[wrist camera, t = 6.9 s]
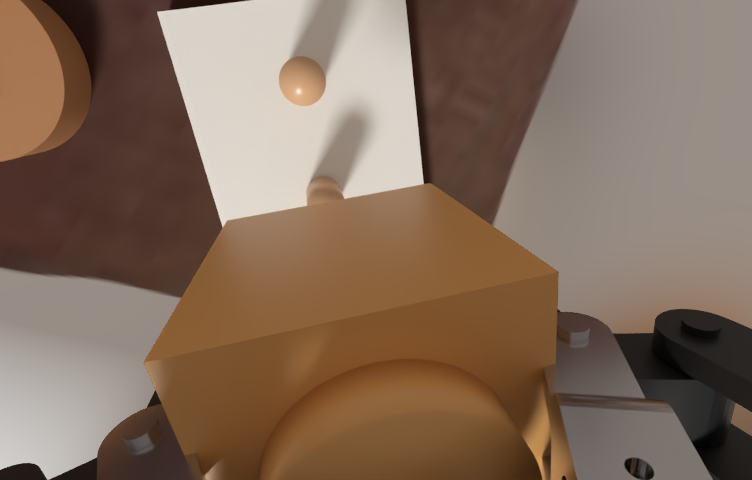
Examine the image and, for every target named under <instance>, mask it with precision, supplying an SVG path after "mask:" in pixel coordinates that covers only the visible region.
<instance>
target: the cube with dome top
mask: <svg viewBox="0 0 752 480" xmlns="http://www.w3.org/2000/svg"><path fill="white" fill-rule="evenodd" d="M558 273H559V272H558V271H557V270H555V269H554V268H552V267H551V266H549V265H548V264H546V263H545V262H544V261H542V260H541V259H539V258H538V257H536V256H535V255H533V254H532V253H531V252H529V251H528V250H526V249H525V248H523V247H522V246H521V245H519V244H518V243H516V242H515V241H513V240H512V239H510V238H509V237H507V236H506V235H505V234H503V233H502V232H500V231H499V230H497V229H496V228H494V227H493V226H492V225H490V224H489V223H487V222H486V221H484V220H483V219H482V218H480V217H479V216H477V215H476V214H474V213H473V212H472V211H470V210H469V209H467V208H466V207H464V206H463V205H461V204H460V203H459V202H457V201H456V200H454V199H453V198H451V197H450V196H448V195H447V194H446V193H444V192H443V191H441V190H440V189H438V188H437V187H435V186H434V185H433V184H431V183H427V184H422V185H417V186H411V187H406V188H400V189H395V190H389V191H384V192H379V193H373V194H368V195H362V196H357V197H352V198H346V199H341V200H335V201H330V202H324V203H319V204H314V205H308V206H303V207H297V208H292V209H287V210H281V211H276V212H270V213H265V214H259V215H254V216H249V217H243V218H238V219H232V220H227V222H226V223H225V225H224V227H223V228H222V230H221V232H220V233H219V235H218V237H217V239H216V240H215V242H214V244H213V245H212V247H211V249H210V250H209V252H208V254H207V256H206V257H205V259H204V261H203V262H202V264H201V266H200V268H199V269H198V271H197V273H196V274H195V276H194V278H193V279H192V281H191V283H190V285H189V286H188V288H187V290H186V291H185V293H184V295H183V296H182V298H181V300H180V302H179V303H178V305H177V307H176V309H175V310H174V312H173V313H172V315H171V317H170V319H169V320H168V322H167V324H166V325H165V327H164V329H163V330H162V332H161V334H160V336H159V337H158V339H157V341H156V342H155V344H154V346H153V347H152V349H151V351H150V353H149V354H148V356H147V358H146V359H145V361H144V365H145V367H146V369H147V372H148V374H149V376H150V378H151V381H152V383H153V385H154V388H155V390H156V392H157V394H158V397H159V399H160V401H161V403H162V406H163V408H164V410H165V413H166V415H167V417H168V419H169V422H170V424H171V426H172V428H173V431H174V433H175V435H176V438H177V440H178V442H179V444H180V447H181V449H182V451H183V453H184V455H188V454H192V453H196V455H197V458H198V460H199V462H200V465H201V467H202V469H203V472H204V474H205V477H206V480H542V457H546V456H549V455H551V432H550V423H549V417H548V412H547V407H546V402H545V397H544V392H543V367H544V366H549V365H553V364H556V337H557V305H558V304H557V303H558Z"/></svg>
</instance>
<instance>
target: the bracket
mask: <svg viewBox="0 0 752 480" xmlns="http://www.w3.org/2000/svg"><path fill="white" fill-rule="evenodd" d="M91 92H92V88H91V77H90V71H89V67H88V64H87V61H86V58H85V55H84V53H83V51H82V49H81V47H80V45H79V43H78V41H77V39H76V38H75V36H74V34H73V33H72V31H71V30H70V29H69V27H68V26H67V25H66V23H65V22H64V21H63V20H62V19H61V18H60V16H59V15H58V14H57V13H56V12H55V11H54V10H53V9H51V8H50V7H49V6H48V5H47V4H46V3H45V2H43V1H42V0H0V161H6V160H10V159H15V158H19V157H23V156H27V155H32V154H36V153H40V152H44V151H47V150H50V149H53V148H55V147H57V146H59V145H61V144H62V143H64V142H66V141H67V140H68V139H69V138H71V137H72V136H73V135H74V134H75V133H76V132H77V131H78V129H79V128H80V126H81V125H82V123H83V122H84V120H85V118H86V116H87V113H88V110H89V107H90V101H91Z"/></svg>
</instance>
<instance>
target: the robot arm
mask: <svg viewBox="0 0 752 480" xmlns="http://www.w3.org/2000/svg"><path fill="white" fill-rule="evenodd" d="M543 392H544V397H545V402H546V407H547V412H548V417H549V423H550V432H551V455H549V456H546V457H542V480H752V436H750V435H749V434H747V433H745V432H744V431H742V430H741V429H739V428H737V427H736V426H734V425H733V424H731V419H732V415H733V411H734V407H735V403H738V404H739V405H741V406H743V407H744V408H746V409H748V410H749V411H751V412H752V329H750V328H748V327H746V326H743V325H741V324H738V323H736V322H734V321H732V320H729V319H727V318H724V317H721V316H719V315H716V314H712V313H709V312H704V311H698V310H689V309H676V310H669V311H666V312H663V313H661V314H660V315H658V316H657V317H656V319H655V325H654V332H653V333H640V334H639V333H635V334H613V333H612V331H611V330H610V328H609V327H608V326H607V325H606V324H604V323H603V322H601V321H600V320H598V319H596V318H593V317H591V316H588V315H585V314H580V313H574V312H560V311H559V310H558V309H557V337H556V364H553V365H549V366H544V367H543ZM0 480H47V479H46V477H45V475H44V474H43V472H42V471H41V469H40V468H39V466H37V465H35V464H31V463H23V464H17V465H13V466H10V467H7V468H4V469H2V470H0ZM50 480H206V477H205V474H204V472H203V469H202V467H201V465H200V462H199V460H198V458H197V455H196V453H192V454H188V455H184V453H183V451H182V449H181V447H180V444H179V442H178V440H177V438H176V435H175V433H174V431H173V428H172V426H171V424H170V422H169V419H168V417H167V415H166V413H165V410H164V408H163V406H162V403H161V401H160V399H159V397H158V394H157V392H156V390H155V392H154V394H153V396H152V398H151V400H150V402H149V404H148V406H147V408H146V409H143V410H140V411H139V412H137V413H135V414H133V415H131V416H130V417H128V418H126V419H125V420H124V421H122V422H121V423H120V424H118V425H117V426H116V427H115V428H114V429H113V430H112V431H111V432H110V433H109V434H108V435H107V436H106V438H105V439H104V440H103V442H102V444H101V445H100V448H99V450H98V456H97V458H95V459H93V460H91V461H89V462H87V463H85V464H82V465H80V466H78V467H76V468H74V469H72V470H69V471H67V472H65V473H63V474H61V475H58V476H57V477H54V478H52V479H50Z"/></svg>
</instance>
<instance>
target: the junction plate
mask: <svg viewBox="0 0 752 480" xmlns="http://www.w3.org/2000/svg"><path fill="white" fill-rule="evenodd" d="M157 13H158V16H159V20H160V23H161V26H162V30H163V33H164V36H165V39H166V43H167V46H168V49H169V53H170V56H171V59H172V62H173V66H174V69H175V72H176V76H177V79H178V82H179V85H180V89H181V92H182V95H183V99H184V102H185V105H186V108H187V112H188V115H189V118H190V121H191V125H192V128H193V131H194V135H195V138H196V141H197V144H198V148H199V151H200V154H201V158H202V161H203V164H204V167H205V171H206V174H207V177H208V181H209V184H210V187H211V190H212V194H213V197H214V200H215V204H216V207H217V210H218V213H219V217H220V220H221V223H222V227H224V225H225V223H226V222H227V220H232V219H238V218H243V217H249V216H254V215H259V214H265V213H270V212H276V211H281V210H287V209H292V208H297V207H303V206H308V205H314V204H319V203H324V202H330V201H335V200H341V199H346V198H352V197H357V196H362V195H368V194H373V193H379V192H384V191H389V190H395V189H400V188H406V187H411V186H417V185H422V184H424V182H423V172H422V162H421V152H420V141H419V131H418V121H417V111H416V101H415V91H414V81H413V70H412V60H411V50H410V40H409V30H408V20H407V10H406V0H250V1H242V2H234V3H226V4H218V5H210V6H201V7H193V8H185V9H177V10H169V11H161V12H157Z"/></svg>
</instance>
